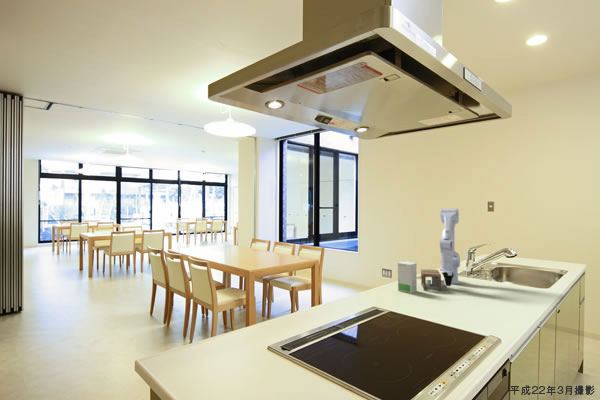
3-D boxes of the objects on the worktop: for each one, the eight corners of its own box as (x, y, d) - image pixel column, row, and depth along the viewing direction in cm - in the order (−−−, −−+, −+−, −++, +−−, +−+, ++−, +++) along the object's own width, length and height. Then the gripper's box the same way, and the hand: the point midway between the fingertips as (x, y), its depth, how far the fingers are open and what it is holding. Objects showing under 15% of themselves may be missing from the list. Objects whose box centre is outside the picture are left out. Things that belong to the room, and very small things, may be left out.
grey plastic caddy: (424, 287, 182) (423, 275, 182) (445, 287, 179) (444, 276, 179) (425, 289, 177) (424, 277, 177) (446, 290, 174) (446, 278, 174)
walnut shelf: (421, 284, 186) (420, 269, 186) (438, 285, 183) (437, 269, 184) (423, 290, 174) (423, 274, 174) (441, 291, 172) (440, 274, 172)
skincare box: (397, 290, 175) (396, 262, 176) (403, 288, 180) (402, 260, 180) (411, 293, 169) (410, 264, 169) (417, 291, 174) (416, 262, 174)
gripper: (437, 258, 185) (438, 282, 184) (441, 263, 171) (442, 288, 171) (450, 259, 183) (451, 282, 183) (455, 263, 169) (457, 289, 169)
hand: (448, 285), depth 176 cm, fingers closed
